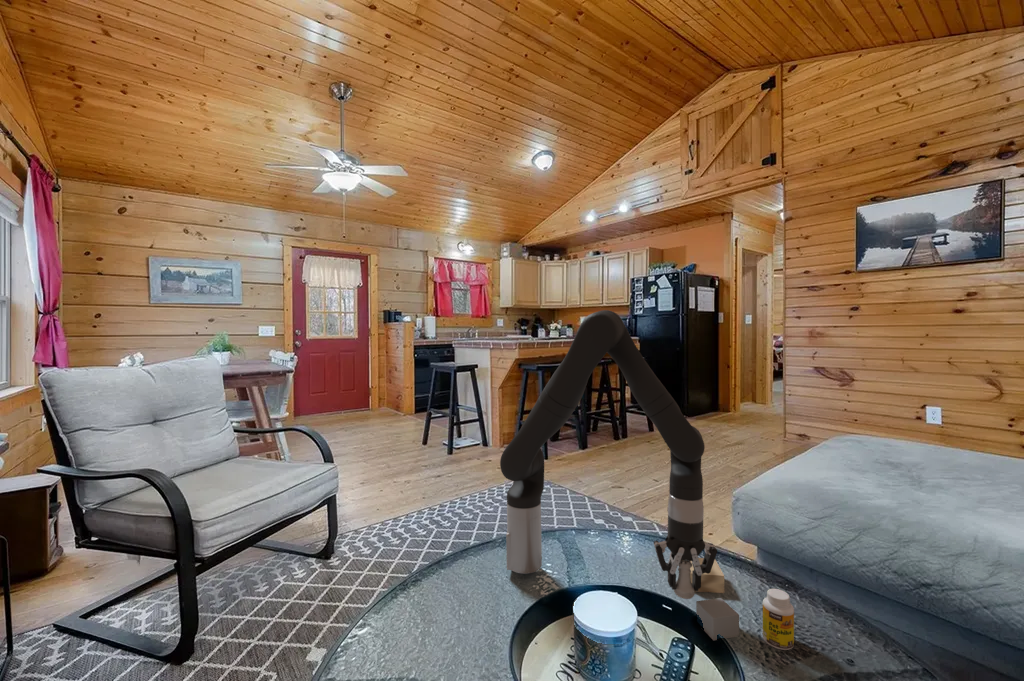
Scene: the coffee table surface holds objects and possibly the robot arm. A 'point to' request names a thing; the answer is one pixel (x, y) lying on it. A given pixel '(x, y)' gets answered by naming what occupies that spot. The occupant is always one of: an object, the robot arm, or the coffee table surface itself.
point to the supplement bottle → (778, 620)
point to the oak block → (711, 579)
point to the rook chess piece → (684, 581)
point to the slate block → (718, 618)
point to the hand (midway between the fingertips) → (684, 588)
